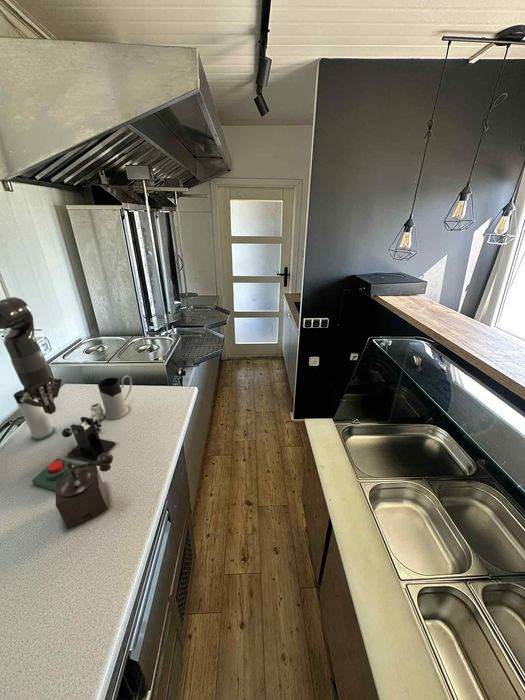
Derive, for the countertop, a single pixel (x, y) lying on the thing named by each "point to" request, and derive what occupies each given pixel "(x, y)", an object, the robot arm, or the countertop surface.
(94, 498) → the brown coffee grinder
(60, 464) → the button
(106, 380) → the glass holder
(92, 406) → the valve
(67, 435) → the lever
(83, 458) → the bracket
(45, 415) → the travel mug
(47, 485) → the button block
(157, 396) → the countertop surface
